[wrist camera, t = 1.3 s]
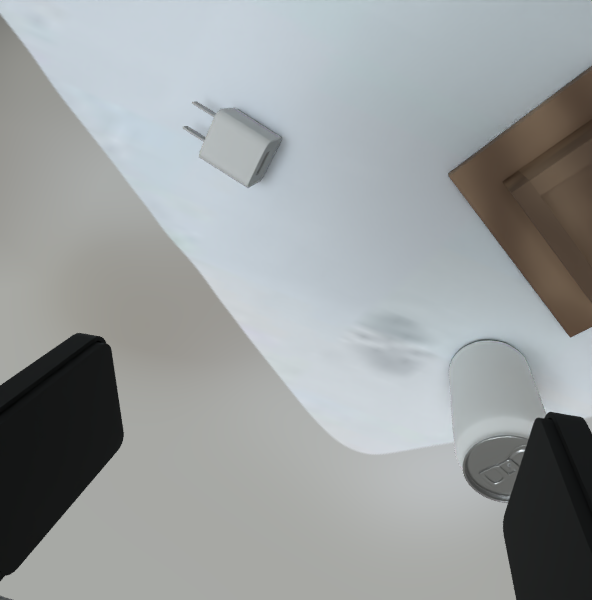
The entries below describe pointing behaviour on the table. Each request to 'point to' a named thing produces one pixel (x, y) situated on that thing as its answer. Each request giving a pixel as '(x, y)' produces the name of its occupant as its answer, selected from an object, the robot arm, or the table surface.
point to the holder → (542, 199)
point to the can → (492, 414)
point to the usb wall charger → (237, 145)
